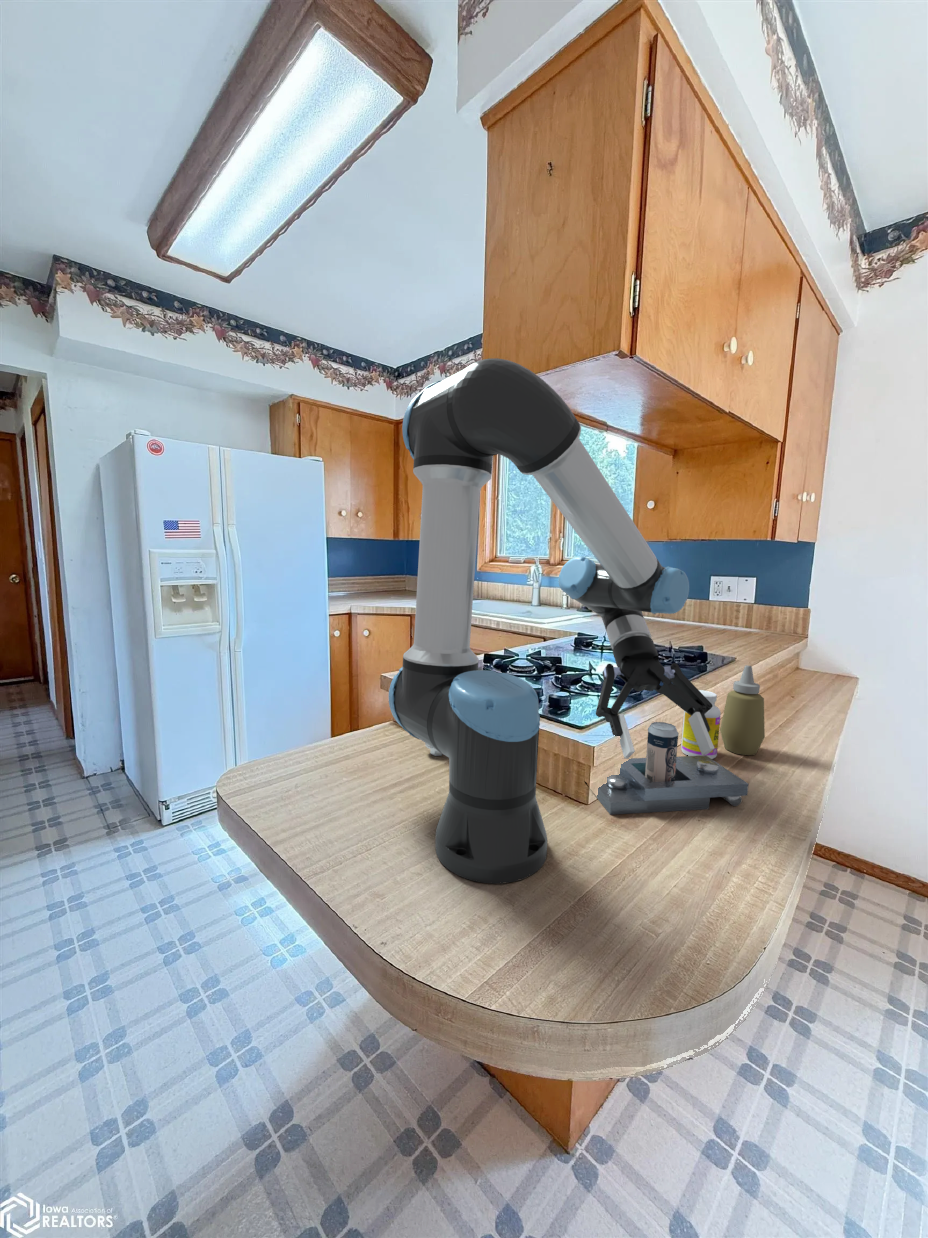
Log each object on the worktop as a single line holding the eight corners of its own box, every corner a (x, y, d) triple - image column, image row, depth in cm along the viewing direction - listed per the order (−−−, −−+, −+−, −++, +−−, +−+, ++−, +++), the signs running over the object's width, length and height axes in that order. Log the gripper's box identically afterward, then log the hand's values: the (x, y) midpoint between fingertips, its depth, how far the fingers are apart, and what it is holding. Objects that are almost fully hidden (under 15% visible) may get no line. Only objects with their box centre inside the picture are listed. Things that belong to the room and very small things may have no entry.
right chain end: (643, 812, 76) (645, 782, 75) (613, 780, 87) (615, 753, 86) (746, 807, 78) (749, 777, 77) (704, 776, 89) (706, 750, 88)
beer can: (674, 803, 79) (679, 732, 77) (643, 798, 81) (648, 728, 79) (672, 790, 83) (678, 723, 82) (643, 785, 85) (647, 719, 83)
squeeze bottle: (751, 744, 105) (759, 662, 102) (770, 759, 97) (780, 671, 94) (712, 742, 106) (719, 661, 103) (728, 757, 98) (736, 670, 95)
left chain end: (610, 814, 75) (611, 796, 75) (583, 781, 86) (584, 765, 86) (708, 809, 77) (710, 791, 77) (671, 777, 88) (672, 762, 88)
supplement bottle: (717, 763, 94) (723, 699, 93) (680, 757, 97) (685, 695, 96) (716, 751, 100) (721, 691, 99) (681, 745, 103) (685, 686, 102)
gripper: (684, 655, 96) (727, 759, 83) (562, 656, 93) (588, 764, 80) (703, 633, 90) (752, 741, 77) (573, 633, 87) (603, 746, 74)
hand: (669, 753), depth 79 cm, fingers open, 13 cm apart
